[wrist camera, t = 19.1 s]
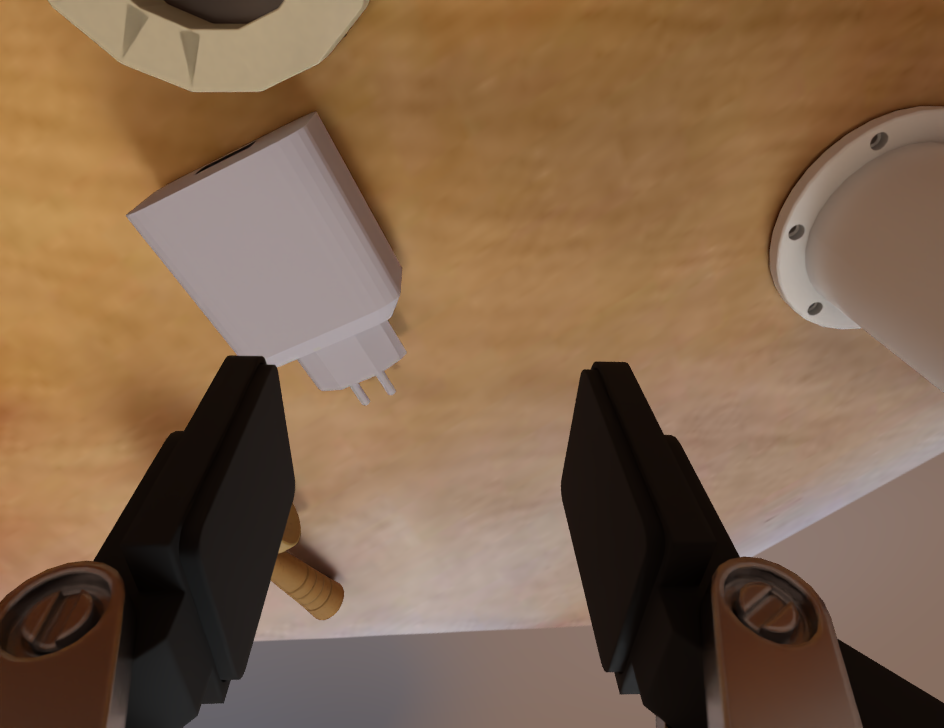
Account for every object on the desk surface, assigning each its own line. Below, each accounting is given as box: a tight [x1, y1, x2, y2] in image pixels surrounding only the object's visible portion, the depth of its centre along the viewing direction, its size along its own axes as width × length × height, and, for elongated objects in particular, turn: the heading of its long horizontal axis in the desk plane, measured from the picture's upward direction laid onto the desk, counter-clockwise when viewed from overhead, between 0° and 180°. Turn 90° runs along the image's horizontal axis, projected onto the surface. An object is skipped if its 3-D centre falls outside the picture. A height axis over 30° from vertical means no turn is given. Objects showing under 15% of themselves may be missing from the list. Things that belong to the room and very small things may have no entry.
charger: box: [126, 111, 407, 405], centre depth 31 cm, size 5×9×15 cm
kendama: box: [271, 503, 344, 620], centre depth 41 cm, size 8×6×18 cm
